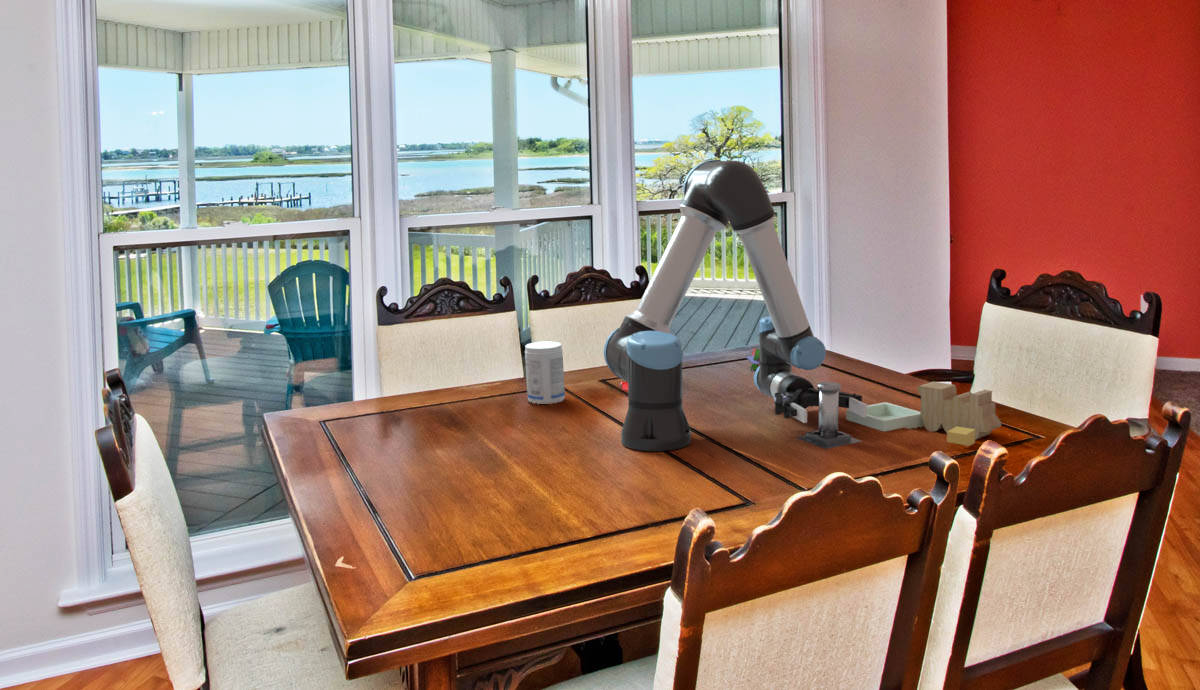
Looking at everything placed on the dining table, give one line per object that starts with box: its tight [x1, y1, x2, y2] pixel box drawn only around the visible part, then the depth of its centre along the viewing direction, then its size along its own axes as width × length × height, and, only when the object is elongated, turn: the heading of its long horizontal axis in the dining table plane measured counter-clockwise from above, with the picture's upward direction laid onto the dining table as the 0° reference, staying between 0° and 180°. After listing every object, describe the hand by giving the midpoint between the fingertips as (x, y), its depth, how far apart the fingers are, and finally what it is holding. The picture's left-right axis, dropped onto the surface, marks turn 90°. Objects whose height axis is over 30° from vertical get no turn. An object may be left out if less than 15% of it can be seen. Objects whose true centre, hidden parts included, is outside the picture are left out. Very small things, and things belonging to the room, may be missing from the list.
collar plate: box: [794, 429, 863, 450], centre depth 215 cm, size 10×10×2 cm
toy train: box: [916, 381, 1002, 441], centre depth 220 cm, size 6×17×10 cm, turn 40°
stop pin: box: [816, 381, 842, 438], centre depth 214 cm, size 5×5×12 cm
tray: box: [845, 401, 924, 432], centre depth 228 cm, size 12×12×3 cm
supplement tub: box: [524, 340, 566, 405], centre depth 257 cm, size 10×10×15 cm
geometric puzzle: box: [744, 346, 760, 371], centre depth 287 cm, size 7×7×8 cm
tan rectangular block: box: [946, 426, 976, 447], centre depth 212 cm, size 5×4×3 cm
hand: (835, 413), depth 211 cm, fingers open, 13 cm apart
